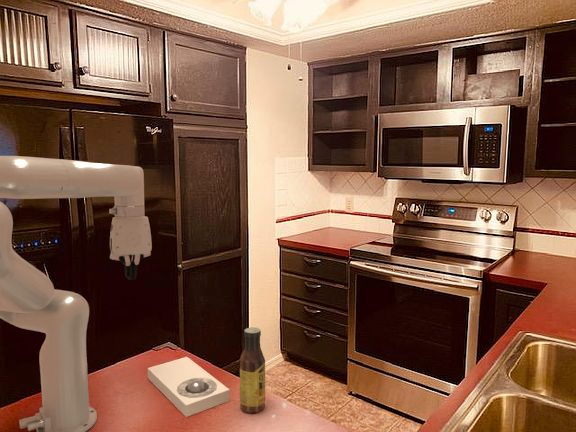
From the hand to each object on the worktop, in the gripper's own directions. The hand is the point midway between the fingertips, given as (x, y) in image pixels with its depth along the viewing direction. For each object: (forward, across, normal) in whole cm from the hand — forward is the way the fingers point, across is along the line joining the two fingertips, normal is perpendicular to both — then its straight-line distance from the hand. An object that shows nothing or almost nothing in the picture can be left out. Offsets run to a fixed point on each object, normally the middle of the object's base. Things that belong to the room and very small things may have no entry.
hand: (131, 278), depth 124 cm
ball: (+26, +10, -20) cm, 34 cm away
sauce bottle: (+29, +19, -32) cm, 47 cm away
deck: (+28, +9, -15) cm, 33 cm away
